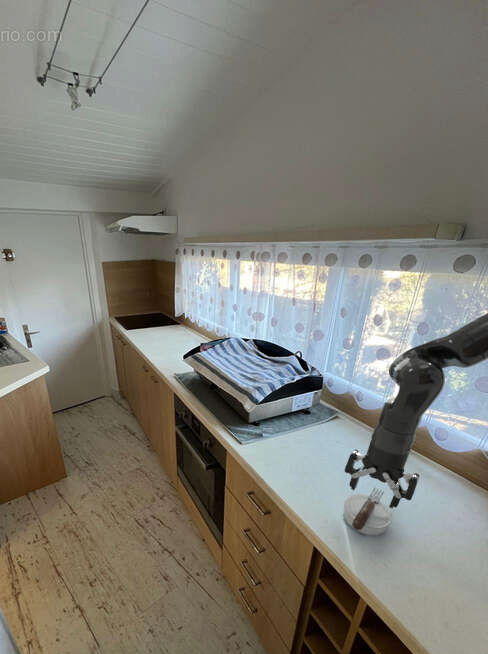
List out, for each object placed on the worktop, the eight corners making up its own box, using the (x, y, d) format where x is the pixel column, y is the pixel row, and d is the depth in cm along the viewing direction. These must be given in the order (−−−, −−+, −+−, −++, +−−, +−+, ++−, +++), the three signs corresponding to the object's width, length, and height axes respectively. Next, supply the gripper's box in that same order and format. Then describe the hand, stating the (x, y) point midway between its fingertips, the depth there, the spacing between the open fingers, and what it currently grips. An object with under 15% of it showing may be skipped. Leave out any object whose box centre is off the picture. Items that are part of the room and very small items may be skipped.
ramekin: (366, 547, 76) (371, 533, 74) (331, 515, 85) (335, 501, 83) (396, 531, 80) (402, 518, 78) (359, 502, 89) (364, 489, 87)
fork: (373, 488, 87) (376, 482, 86) (383, 493, 85) (385, 486, 84) (349, 528, 75) (351, 521, 74) (360, 534, 74) (362, 527, 73)
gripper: (433, 448, 65) (409, 503, 73) (362, 424, 74) (347, 475, 82) (426, 465, 60) (401, 522, 68) (350, 437, 69) (336, 490, 77)
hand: (371, 496), depth 75 cm, fingers open, 8 cm apart
